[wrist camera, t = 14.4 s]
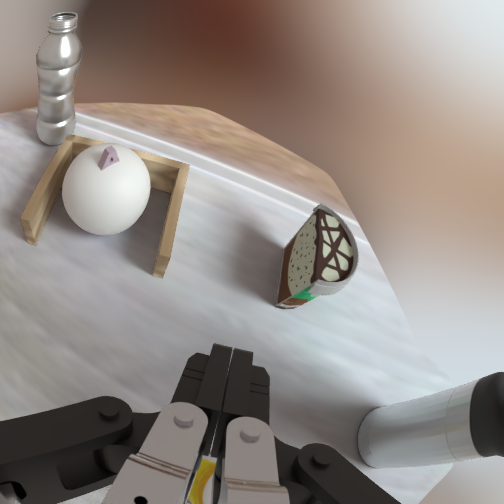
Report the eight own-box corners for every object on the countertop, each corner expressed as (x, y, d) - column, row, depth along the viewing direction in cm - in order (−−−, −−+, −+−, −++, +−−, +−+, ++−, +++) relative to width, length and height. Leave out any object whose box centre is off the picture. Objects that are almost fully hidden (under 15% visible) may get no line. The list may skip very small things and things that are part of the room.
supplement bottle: (185, 512, 23) (228, 555, 13) (174, 457, 26) (209, 475, 16) (246, 501, 26) (313, 528, 16) (235, 448, 29) (298, 455, 19)
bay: (180, 189, 44) (190, 164, 40) (162, 278, 36) (170, 257, 32) (68, 160, 38) (68, 134, 34) (27, 242, 31) (20, 218, 27)
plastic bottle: (74, 121, 42) (88, 7, 27) (76, 147, 40) (90, 23, 24) (37, 126, 39) (41, 11, 23) (36, 154, 36) (35, 28, 21)
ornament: (117, 265, 34) (124, 200, 25) (50, 225, 33) (40, 153, 24) (156, 206, 41) (177, 138, 32) (95, 174, 39) (102, 103, 30)
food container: (314, 330, 41) (363, 302, 33) (273, 317, 40) (318, 284, 32) (319, 256, 48) (359, 219, 41) (284, 241, 47) (321, 200, 39)
